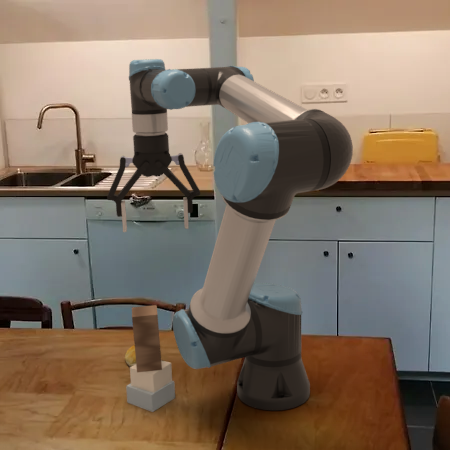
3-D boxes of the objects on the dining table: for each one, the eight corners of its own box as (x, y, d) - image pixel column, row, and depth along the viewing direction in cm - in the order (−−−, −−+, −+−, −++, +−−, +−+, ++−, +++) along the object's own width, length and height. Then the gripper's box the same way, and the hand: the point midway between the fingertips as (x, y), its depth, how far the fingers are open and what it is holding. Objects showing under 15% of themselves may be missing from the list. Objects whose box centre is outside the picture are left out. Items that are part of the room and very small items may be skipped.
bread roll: (157, 351, 169) (156, 335, 168) (163, 367, 161) (162, 351, 160) (123, 355, 168) (122, 339, 167) (127, 371, 159) (126, 355, 158)
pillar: (160, 358, 146) (156, 305, 143) (162, 369, 142) (157, 314, 138) (136, 361, 146) (131, 307, 142) (137, 372, 141) (131, 317, 138)
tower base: (175, 398, 146) (174, 381, 145) (152, 413, 141) (151, 395, 140) (150, 389, 150) (149, 372, 149) (127, 403, 145) (126, 385, 144)
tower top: (172, 380, 146) (171, 362, 145) (154, 392, 141) (153, 374, 140) (149, 374, 149) (148, 356, 148) (130, 385, 144) (129, 367, 143)
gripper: (207, 128, 156) (210, 221, 161) (93, 133, 153) (100, 227, 158) (209, 132, 148) (213, 229, 154) (90, 137, 146) (97, 236, 151)
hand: (155, 229), depth 156 cm, fingers open, 13 cm apart
